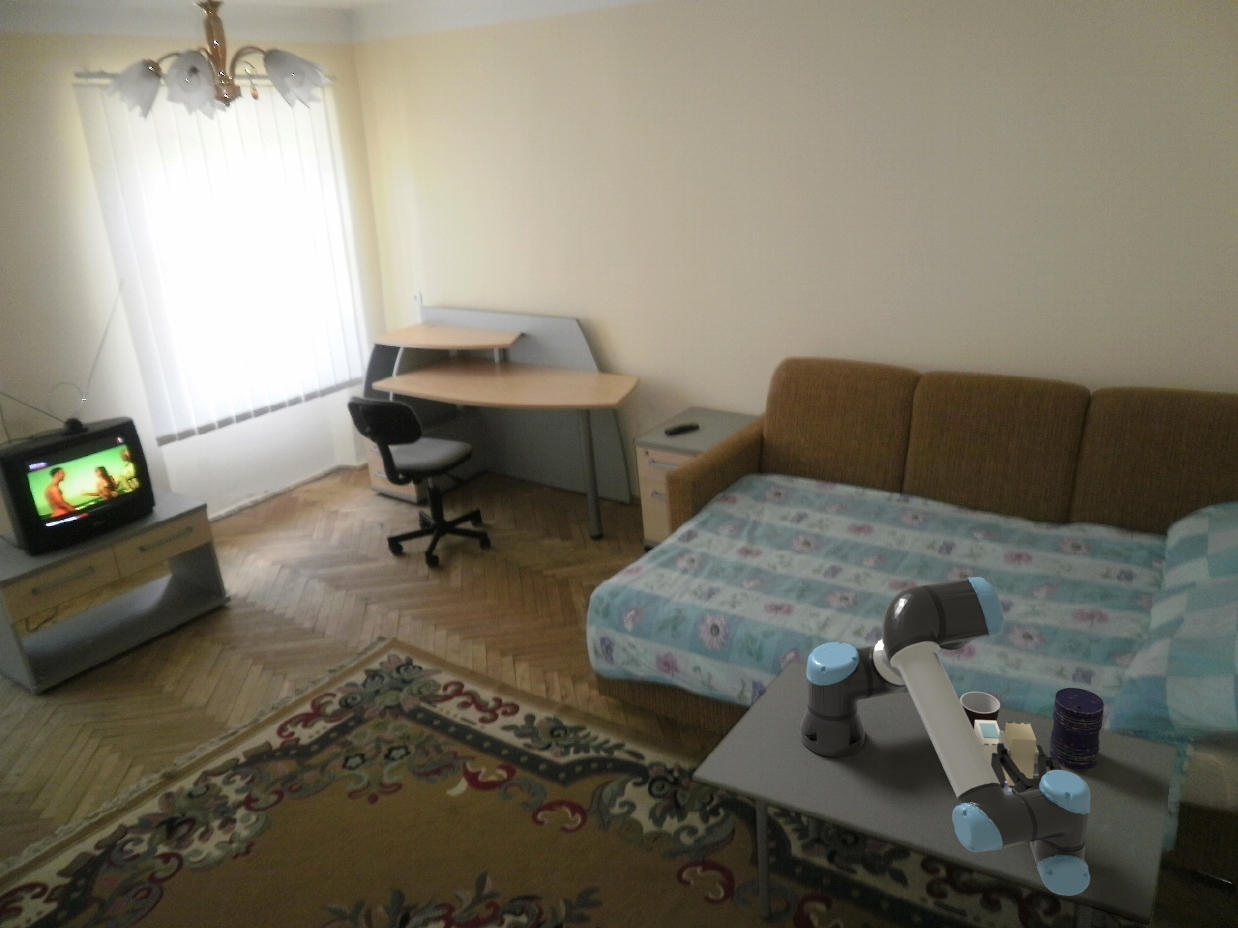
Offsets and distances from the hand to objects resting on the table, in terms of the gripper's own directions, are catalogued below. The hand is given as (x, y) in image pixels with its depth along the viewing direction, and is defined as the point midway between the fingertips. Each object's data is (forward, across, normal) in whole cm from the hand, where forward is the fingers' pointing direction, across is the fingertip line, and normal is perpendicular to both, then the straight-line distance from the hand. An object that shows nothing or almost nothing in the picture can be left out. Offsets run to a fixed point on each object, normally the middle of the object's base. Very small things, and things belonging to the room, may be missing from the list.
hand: (1014, 736), depth 182 cm
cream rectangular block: (-4, 0, -7) cm, 8 cm away
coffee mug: (+23, -4, -18) cm, 30 cm away
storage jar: (+19, +18, -18) cm, 31 cm away
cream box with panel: (+11, -2, -18) cm, 21 cm away
